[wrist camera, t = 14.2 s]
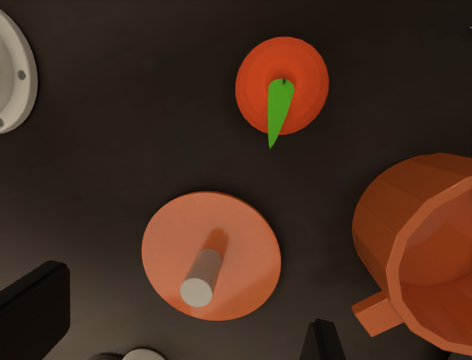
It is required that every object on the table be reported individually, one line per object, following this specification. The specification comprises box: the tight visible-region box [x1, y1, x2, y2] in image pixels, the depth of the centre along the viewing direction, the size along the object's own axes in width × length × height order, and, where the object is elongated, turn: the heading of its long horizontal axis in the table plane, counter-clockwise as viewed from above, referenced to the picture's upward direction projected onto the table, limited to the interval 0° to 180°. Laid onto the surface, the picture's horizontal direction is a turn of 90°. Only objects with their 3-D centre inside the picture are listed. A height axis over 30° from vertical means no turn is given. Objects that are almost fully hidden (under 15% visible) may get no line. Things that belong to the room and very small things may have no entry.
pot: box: [351, 153, 472, 356], centre depth 20 cm, size 14×19×8 cm
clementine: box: [236, 37, 329, 148], centre depth 19 cm, size 8×7×7 cm
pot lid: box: [142, 191, 281, 321], centre depth 24 cm, size 15×15×6 cm
